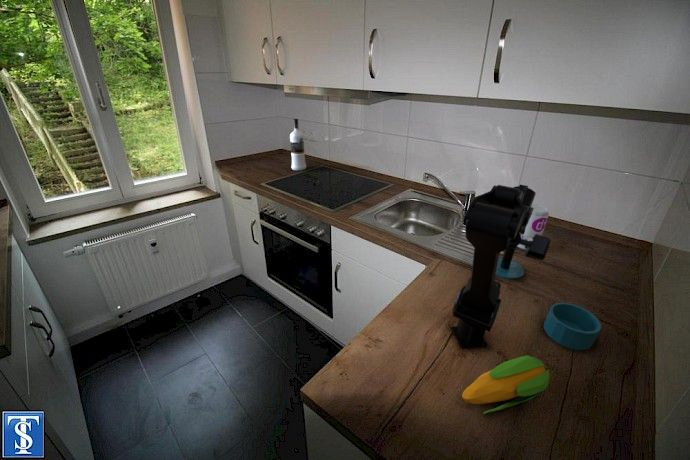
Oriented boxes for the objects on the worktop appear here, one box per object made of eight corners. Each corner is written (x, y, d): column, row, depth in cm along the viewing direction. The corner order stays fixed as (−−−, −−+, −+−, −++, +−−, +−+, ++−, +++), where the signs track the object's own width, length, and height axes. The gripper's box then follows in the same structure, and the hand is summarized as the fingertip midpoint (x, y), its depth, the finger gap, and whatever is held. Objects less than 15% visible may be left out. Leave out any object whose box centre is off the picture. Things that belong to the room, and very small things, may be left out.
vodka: (300, 165, 202) (297, 117, 188) (309, 169, 196) (306, 118, 182) (288, 168, 197) (284, 118, 183) (296, 172, 191) (293, 120, 177)
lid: (530, 279, 97) (540, 251, 92) (496, 281, 96) (504, 253, 91) (510, 259, 106) (518, 233, 102) (479, 261, 105) (485, 235, 101)
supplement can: (542, 250, 112) (556, 212, 105) (521, 252, 111) (533, 214, 104) (527, 239, 119) (538, 203, 112) (507, 241, 118) (518, 204, 111)
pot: (603, 348, 73) (612, 331, 71) (562, 351, 72) (570, 334, 70) (571, 317, 82) (578, 301, 80) (534, 320, 81) (541, 303, 79)
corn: (566, 368, 59) (482, 402, 53) (556, 396, 63) (475, 431, 56) (533, 341, 66) (454, 369, 60) (525, 368, 69) (449, 397, 63)
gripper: (561, 212, 79) (553, 233, 92) (484, 195, 89) (487, 216, 102) (546, 252, 77) (540, 268, 90) (470, 230, 87) (474, 247, 100)
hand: (509, 248), depth 95 cm, fingers open, 9 cm apart
